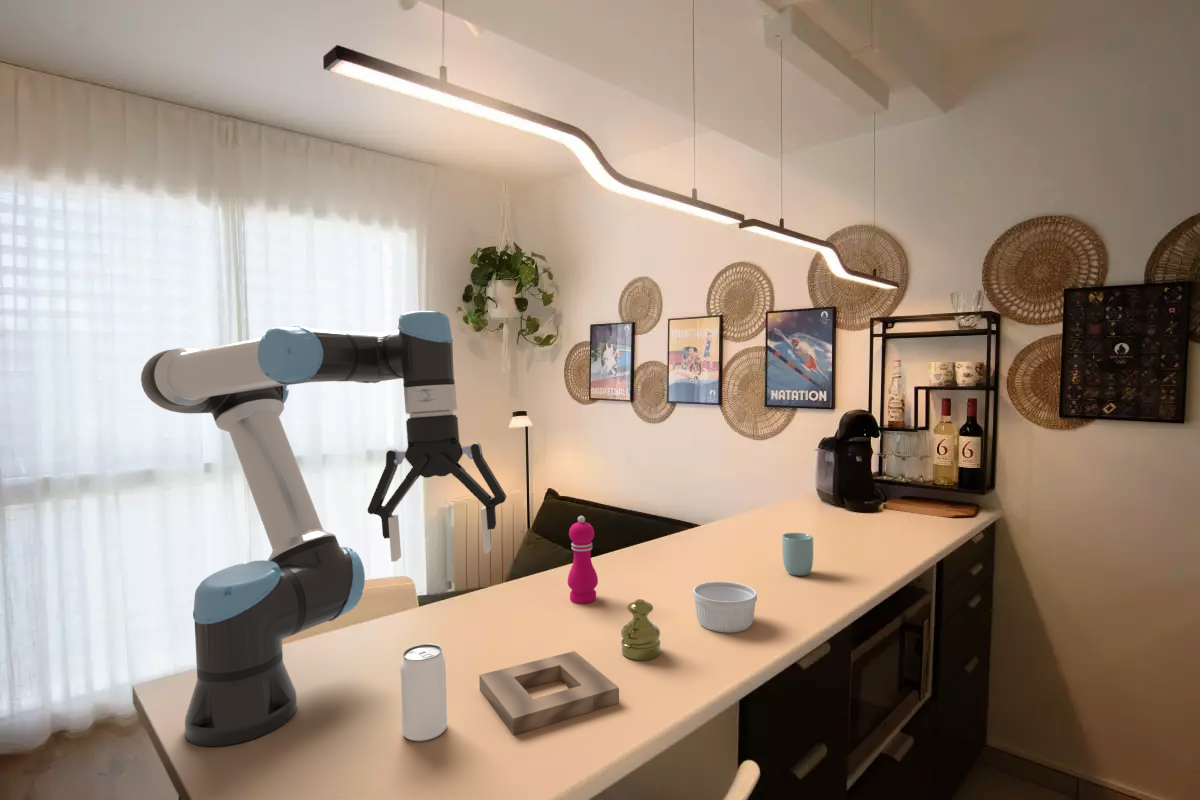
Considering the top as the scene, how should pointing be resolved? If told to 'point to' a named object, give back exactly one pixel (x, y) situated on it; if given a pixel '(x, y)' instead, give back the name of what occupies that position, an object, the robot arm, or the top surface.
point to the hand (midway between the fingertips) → (442, 555)
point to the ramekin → (725, 606)
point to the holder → (530, 713)
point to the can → (423, 692)
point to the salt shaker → (640, 633)
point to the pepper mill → (582, 563)
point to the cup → (797, 553)
